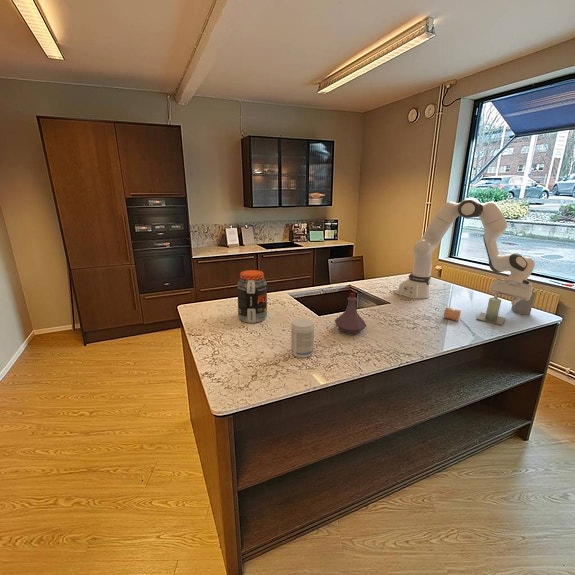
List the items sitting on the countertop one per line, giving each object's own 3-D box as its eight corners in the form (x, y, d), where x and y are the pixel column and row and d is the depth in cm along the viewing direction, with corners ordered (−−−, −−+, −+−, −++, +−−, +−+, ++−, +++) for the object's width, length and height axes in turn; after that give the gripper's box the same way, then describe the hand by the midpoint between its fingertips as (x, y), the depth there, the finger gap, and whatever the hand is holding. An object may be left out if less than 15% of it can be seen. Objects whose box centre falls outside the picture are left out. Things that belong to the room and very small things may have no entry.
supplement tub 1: (262, 325, 168) (262, 277, 160) (234, 322, 171) (232, 275, 163) (270, 313, 183) (270, 269, 175) (244, 311, 185) (242, 268, 178)
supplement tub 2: (317, 352, 141) (318, 321, 137) (304, 361, 134) (305, 329, 130) (300, 345, 147) (300, 315, 143) (286, 353, 140) (286, 322, 136)
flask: (327, 326, 167) (329, 290, 161) (354, 322, 173) (357, 286, 167) (344, 340, 153) (347, 300, 146) (373, 335, 158) (377, 296, 152)
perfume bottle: (530, 313, 188) (537, 284, 182) (518, 313, 188) (525, 284, 182) (522, 309, 194) (529, 281, 188) (511, 309, 194) (517, 280, 189)
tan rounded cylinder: (447, 305, 180) (446, 313, 183) (443, 311, 177) (443, 319, 180) (461, 308, 176) (460, 316, 179) (457, 315, 172) (457, 323, 176)
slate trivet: (476, 319, 178) (476, 318, 178) (480, 313, 187) (481, 312, 187) (501, 325, 171) (501, 324, 171) (505, 319, 179) (505, 317, 179)
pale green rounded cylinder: (484, 318, 178) (488, 299, 175) (486, 315, 182) (490, 297, 179) (495, 320, 175) (500, 302, 171) (497, 317, 179) (502, 299, 176)
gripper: (494, 275, 191) (483, 293, 188) (535, 283, 175) (523, 303, 172) (496, 281, 194) (485, 299, 192) (536, 289, 178) (524, 309, 176)
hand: (503, 301), depth 182 cm, fingers open, 8 cm apart
